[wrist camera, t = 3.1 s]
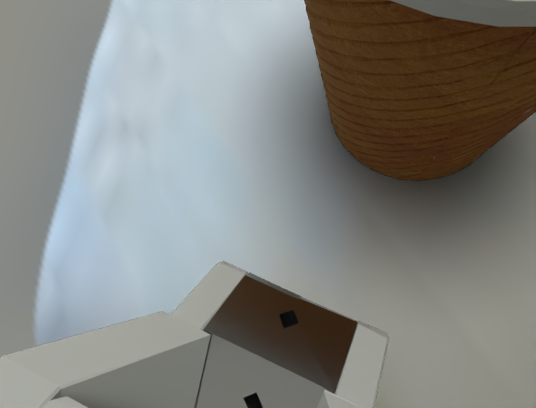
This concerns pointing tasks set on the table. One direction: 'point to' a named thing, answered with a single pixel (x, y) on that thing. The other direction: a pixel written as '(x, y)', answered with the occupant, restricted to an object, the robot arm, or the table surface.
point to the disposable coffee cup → (425, 78)
